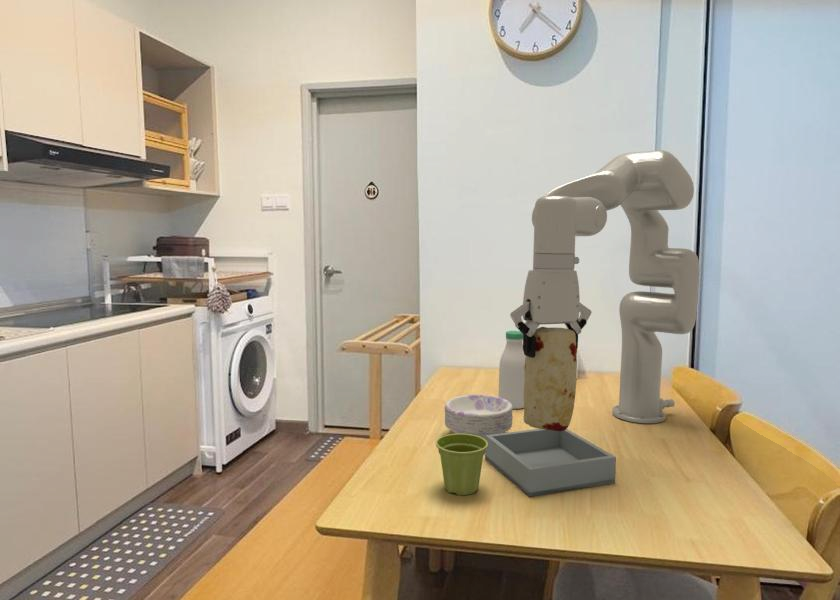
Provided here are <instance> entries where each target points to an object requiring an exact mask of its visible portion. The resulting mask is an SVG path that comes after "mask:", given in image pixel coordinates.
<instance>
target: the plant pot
mask: <svg viewBox="0 0 840 600" xmlns="http://www.w3.org/2000/svg"><path fill="white" fill-rule="evenodd" d="M435 447H436V448H437V450H438V454H439V455H440V462H441V468H442V477H443V478H442V479H443V485H444V486H443V487H444V489H445V491H446V492H448V493H450V494H451V493H454V494H456V495H458V496H469V495H472V494H474V493H475V492H476V491H478V490H479V486H480V481H481V480H480V478H481V472H482V465H483V461H484V459H483V458H484V457H485V449H486V448H487V447H488V442H487V441H486V440H485V439H484V438H482V437H479V436H476V435H472V434H454V433H451V434H445V435H443V436H440V437H438V438H436V439H435Z"/></svg>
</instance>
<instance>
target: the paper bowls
mask: <svg viewBox="0 0 840 600" xmlns="http://www.w3.org/2000/svg"><path fill="white" fill-rule="evenodd" d="M513 410H514V409H513V407H512V404H511V403H510V402H509V401H508V400H506V399H503V398H500V397H499V396H496V395H495V396H494V395H488V394H465V395H459V396H455V397H452V398H450V399H448V400H447V401H446V402H445V404H444V425H445V427H446V428H448V430H451V431H453V434H472V435H476V436H479V437H482V438H484V439H485V435H492V434H500V433H507V432H509V431H510V430H511V428H512V427H513V418H514V417H513Z"/></svg>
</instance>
